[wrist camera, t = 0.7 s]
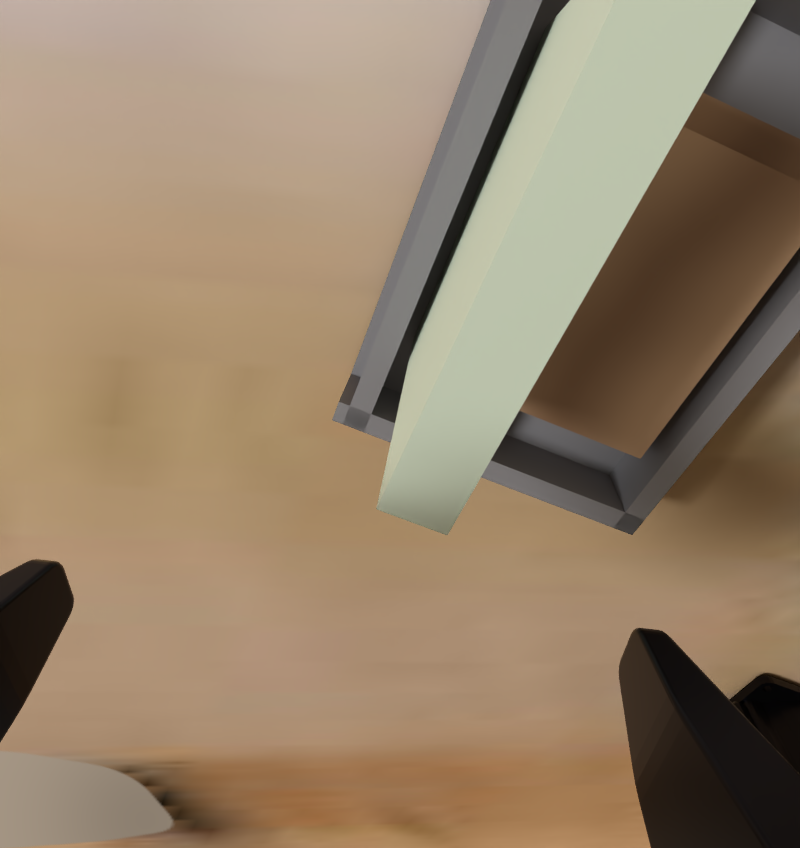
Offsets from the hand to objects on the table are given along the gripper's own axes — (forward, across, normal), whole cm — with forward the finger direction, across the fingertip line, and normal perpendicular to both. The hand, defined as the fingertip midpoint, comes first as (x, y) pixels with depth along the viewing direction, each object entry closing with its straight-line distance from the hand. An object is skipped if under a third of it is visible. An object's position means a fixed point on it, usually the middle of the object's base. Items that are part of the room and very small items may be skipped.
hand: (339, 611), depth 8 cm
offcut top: (+12, -8, -2) cm, 14 cm away
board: (+13, -2, -4) cm, 14 cm away
